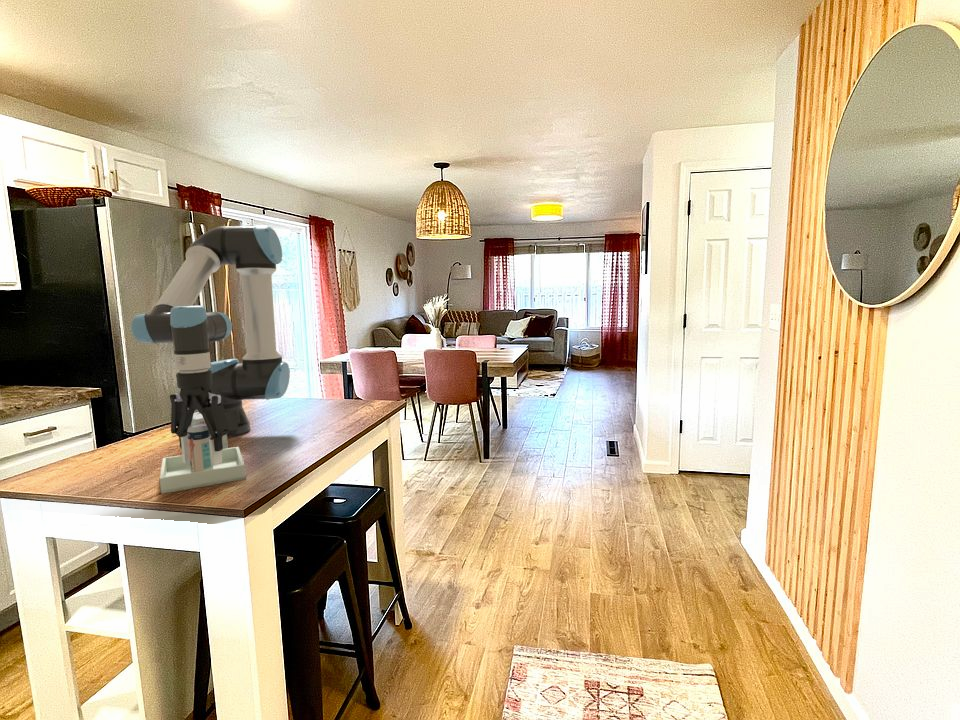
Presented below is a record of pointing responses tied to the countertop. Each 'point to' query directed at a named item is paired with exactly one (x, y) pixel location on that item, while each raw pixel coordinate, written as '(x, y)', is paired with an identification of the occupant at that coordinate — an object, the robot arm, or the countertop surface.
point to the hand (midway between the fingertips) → (202, 462)
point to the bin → (201, 472)
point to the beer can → (199, 447)
